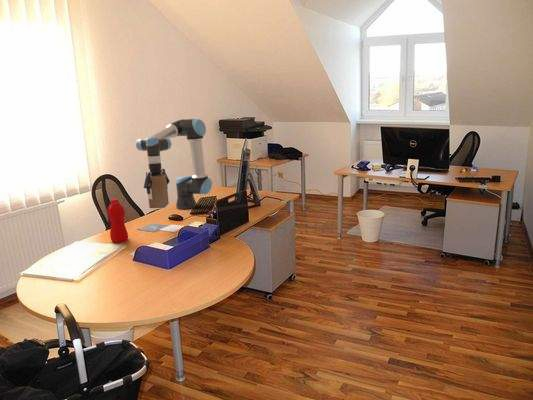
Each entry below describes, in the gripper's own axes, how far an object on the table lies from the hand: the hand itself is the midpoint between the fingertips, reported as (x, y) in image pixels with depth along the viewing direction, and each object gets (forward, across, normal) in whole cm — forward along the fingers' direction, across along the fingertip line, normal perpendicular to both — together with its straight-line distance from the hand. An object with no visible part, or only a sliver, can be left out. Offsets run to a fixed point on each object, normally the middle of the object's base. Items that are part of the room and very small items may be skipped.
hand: (158, 196), depth 277 cm
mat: (+21, -2, +8) cm, 22 cm away
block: (+7, 0, 0) cm, 7 cm away
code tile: (+21, +1, -6) cm, 22 cm away
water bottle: (+21, +27, -6) cm, 35 cm away
